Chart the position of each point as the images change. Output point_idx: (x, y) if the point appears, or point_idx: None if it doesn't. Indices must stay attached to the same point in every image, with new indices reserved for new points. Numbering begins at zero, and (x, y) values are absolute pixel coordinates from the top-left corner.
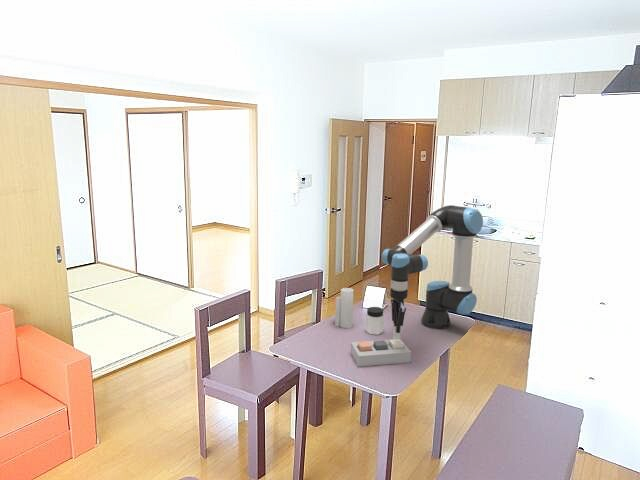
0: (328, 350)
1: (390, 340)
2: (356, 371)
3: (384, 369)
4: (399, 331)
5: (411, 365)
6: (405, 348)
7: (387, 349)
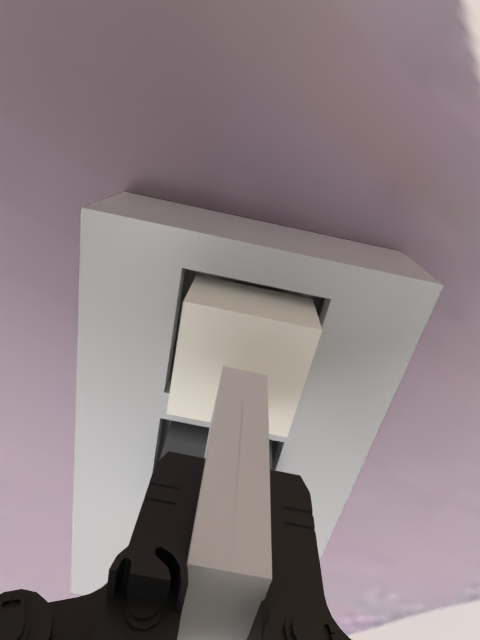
0: (49, 589)
1: (184, 411)
2: (324, 580)
3: (385, 466)
4: (307, 506)
5: (448, 278)
6: (340, 298)
7: (271, 446)
